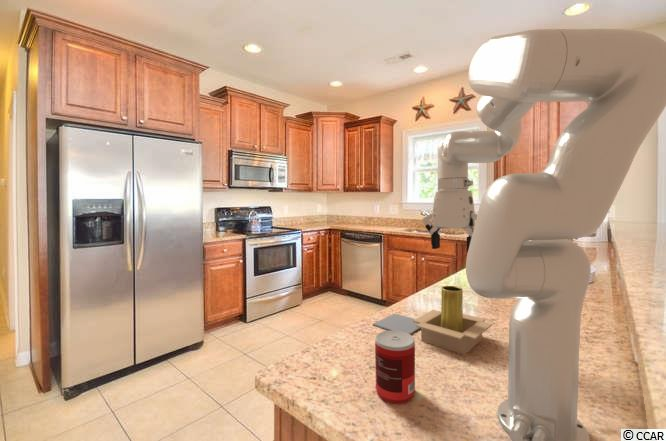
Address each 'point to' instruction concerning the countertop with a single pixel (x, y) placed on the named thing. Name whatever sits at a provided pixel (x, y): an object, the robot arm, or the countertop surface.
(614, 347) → the countertop surface
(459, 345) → the carton
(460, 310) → the vase
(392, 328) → the mat
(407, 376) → the canned food
